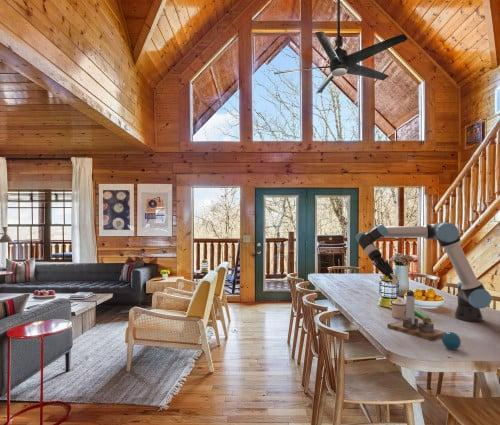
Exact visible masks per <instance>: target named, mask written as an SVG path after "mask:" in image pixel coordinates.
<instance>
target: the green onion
mask: <svg viewBox="0 0 500 425" xmlns="http://www.w3.org/2000/svg"><path fill="white" fill-rule="evenodd" d="M414 312H415V316H417V317H419V318H421V319H422V320H423V318H425V317H426V318H428V319H429V323H431V321H432V320H431V318H430V317H428V316H426V315H425V314H424V313H422V312H420V311H419V310H417V309H415V308H414Z"/></svg>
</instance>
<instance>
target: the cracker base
mask: <svg viewBox="0 0 500 425" xmlns="http://www.w3.org/2000/svg"><path fill="white" fill-rule="evenodd" d="M428 318H429V317H428ZM428 318H426V317H425V318H423V319H422V322H419V318H418V317H415V324H413V325H412V320H410V319H407V317H406V318H404V319H402V320H398V321H395V322H390V323H386V324H387V326H386V327H387V328H388V329H392V330H395V331H398V332H401V333H405V334H408V335H410V336H411V335H412V336H415V337H417V338H422V339H425V340H428V341H435V340H437V339H440V338H441V339H442V336H443V335H444V334H445V333H446V331H443V330H440V329H435V327H434V325H435V324H434V323H432V322H429V319H428Z"/></svg>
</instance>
